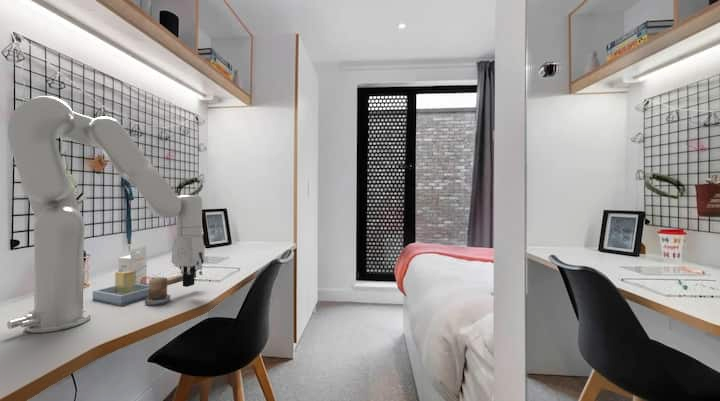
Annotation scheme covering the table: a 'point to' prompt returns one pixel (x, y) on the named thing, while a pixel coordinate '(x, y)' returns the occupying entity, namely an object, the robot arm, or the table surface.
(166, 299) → the crank base
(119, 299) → the tray
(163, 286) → the wooden mallet
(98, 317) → the table surface
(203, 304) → the table surface
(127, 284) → the yellow rectangular block
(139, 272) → the ink cartridge box
